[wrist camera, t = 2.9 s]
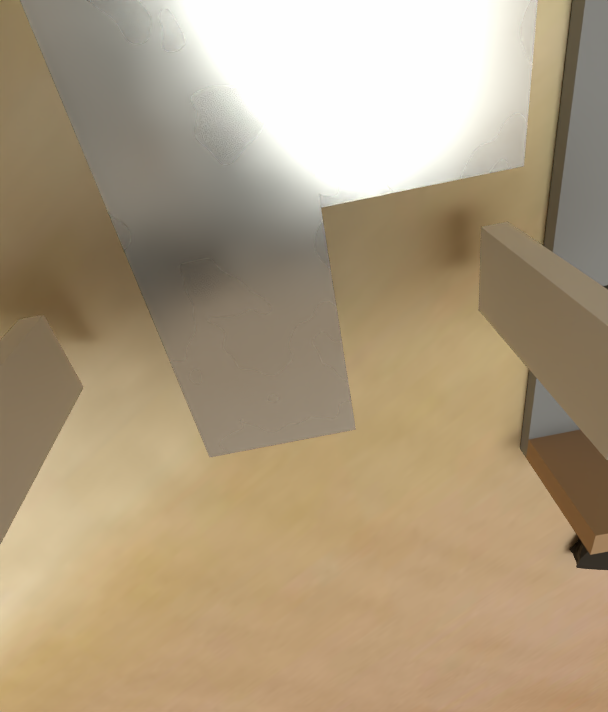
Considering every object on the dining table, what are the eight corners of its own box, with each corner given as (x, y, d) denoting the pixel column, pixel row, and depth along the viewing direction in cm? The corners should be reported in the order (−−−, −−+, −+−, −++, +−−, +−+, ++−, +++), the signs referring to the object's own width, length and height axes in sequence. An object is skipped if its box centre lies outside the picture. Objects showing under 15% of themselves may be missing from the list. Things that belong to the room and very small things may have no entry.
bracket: (117, 17, 12) (19, -2, 7) (424, -50, 12) (547, -118, 7) (222, 340, 18) (209, 457, 13) (433, 298, 17) (503, 401, 12)
